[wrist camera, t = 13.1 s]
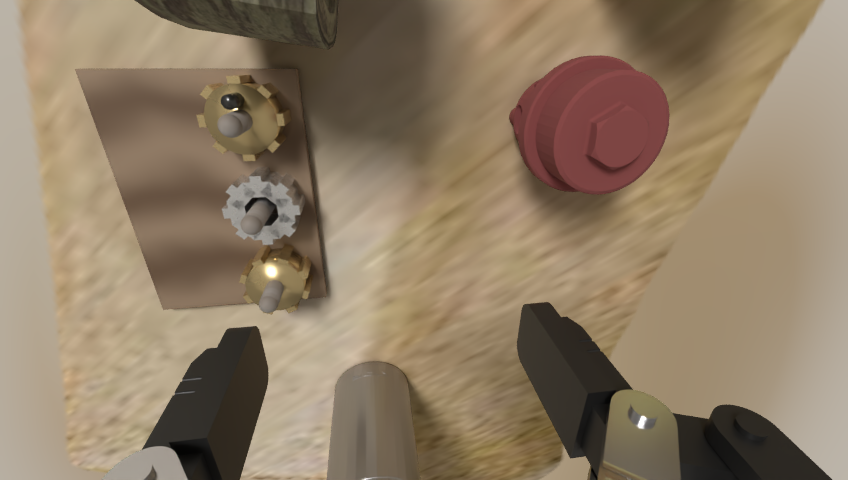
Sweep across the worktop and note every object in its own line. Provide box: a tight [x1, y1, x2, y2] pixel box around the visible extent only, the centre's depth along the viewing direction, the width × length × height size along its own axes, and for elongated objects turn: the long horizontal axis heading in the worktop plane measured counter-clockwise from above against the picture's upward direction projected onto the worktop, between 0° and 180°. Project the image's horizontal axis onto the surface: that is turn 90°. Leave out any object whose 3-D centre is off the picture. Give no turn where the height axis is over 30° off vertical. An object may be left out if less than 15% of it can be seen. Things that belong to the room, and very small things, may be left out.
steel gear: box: [222, 167, 305, 245], centre depth 33 cm, size 6×6×3 cm
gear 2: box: [239, 244, 313, 314], centre depth 36 cm, size 6×6×3 cm
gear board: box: [75, 69, 327, 313], centre depth 31 cm, size 22×16×7 cm
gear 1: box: [196, 75, 291, 161], centre depth 29 cm, size 6×6×5 cm
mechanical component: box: [509, 56, 669, 194], centre depth 30 cm, size 12×10×10 cm
